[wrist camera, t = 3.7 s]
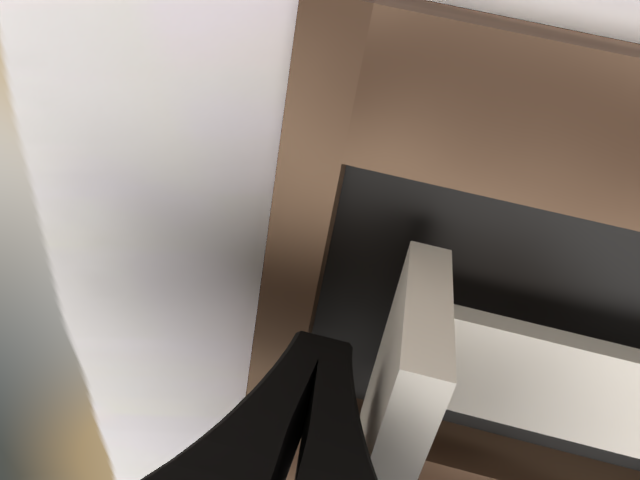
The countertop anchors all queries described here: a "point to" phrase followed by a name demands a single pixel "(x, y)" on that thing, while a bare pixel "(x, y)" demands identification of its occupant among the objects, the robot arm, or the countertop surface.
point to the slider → (488, 374)
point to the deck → (456, 197)
